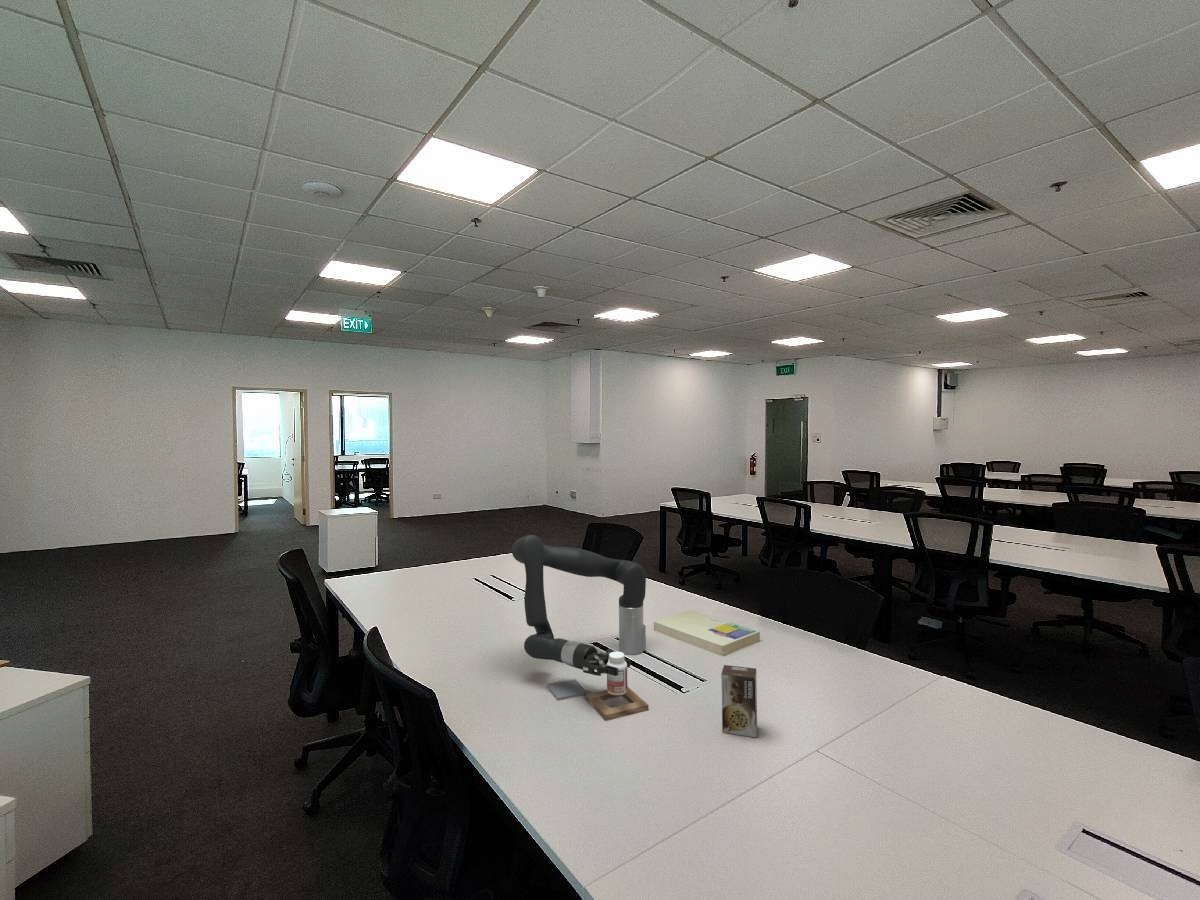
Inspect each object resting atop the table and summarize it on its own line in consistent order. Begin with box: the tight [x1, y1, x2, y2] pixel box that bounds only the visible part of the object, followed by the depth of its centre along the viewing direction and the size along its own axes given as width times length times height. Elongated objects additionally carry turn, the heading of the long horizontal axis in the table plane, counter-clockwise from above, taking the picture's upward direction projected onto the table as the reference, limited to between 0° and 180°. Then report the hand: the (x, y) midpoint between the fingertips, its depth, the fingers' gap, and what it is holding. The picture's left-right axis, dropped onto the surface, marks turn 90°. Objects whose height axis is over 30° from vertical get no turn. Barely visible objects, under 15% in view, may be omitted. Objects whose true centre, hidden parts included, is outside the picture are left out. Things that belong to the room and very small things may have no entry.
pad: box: [546, 678, 589, 701], centre depth 169 cm, size 10×10×1 cm
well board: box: [585, 686, 649, 722], centre depth 159 cm, size 14×14×2 cm
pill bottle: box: [606, 651, 629, 695], centre depth 159 cm, size 6×6×11 cm
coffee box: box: [720, 664, 758, 738], centre depth 145 cm, size 9×6×16 cm
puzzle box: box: [653, 609, 761, 657], centre depth 216 cm, size 36×5×24 cm
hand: (623, 667), depth 158 cm, fingers closed on pill bottle, 6 cm apart
